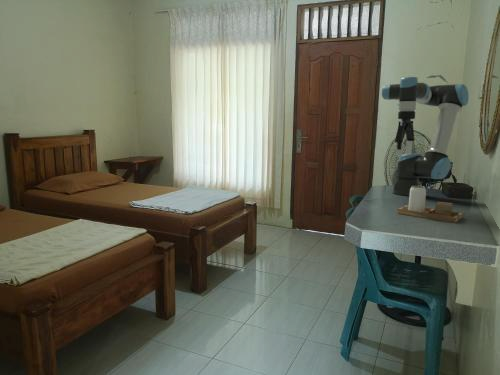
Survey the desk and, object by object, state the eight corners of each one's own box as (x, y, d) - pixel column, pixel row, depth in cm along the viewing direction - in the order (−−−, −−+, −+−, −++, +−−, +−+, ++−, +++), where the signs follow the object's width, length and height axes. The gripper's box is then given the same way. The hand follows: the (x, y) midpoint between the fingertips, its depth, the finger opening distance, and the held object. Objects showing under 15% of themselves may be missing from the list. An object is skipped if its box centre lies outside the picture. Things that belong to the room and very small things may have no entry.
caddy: (407, 210, 178) (407, 204, 178) (462, 219, 163) (462, 213, 163) (397, 214, 170) (397, 208, 169) (454, 224, 155) (455, 217, 154)
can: (425, 215, 166) (428, 187, 164) (409, 214, 167) (412, 187, 166) (422, 212, 172) (424, 185, 171) (406, 211, 174) (408, 184, 172)
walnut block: (436, 215, 167) (437, 201, 166) (451, 217, 164) (453, 203, 163) (434, 218, 162) (435, 203, 161) (450, 220, 159) (451, 205, 158)
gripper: (407, 110, 196) (404, 152, 200) (389, 110, 177) (386, 156, 181) (422, 110, 191) (419, 153, 195) (406, 110, 172) (403, 157, 176)
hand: (404, 155), depth 188 cm, fingers open, 13 cm apart
